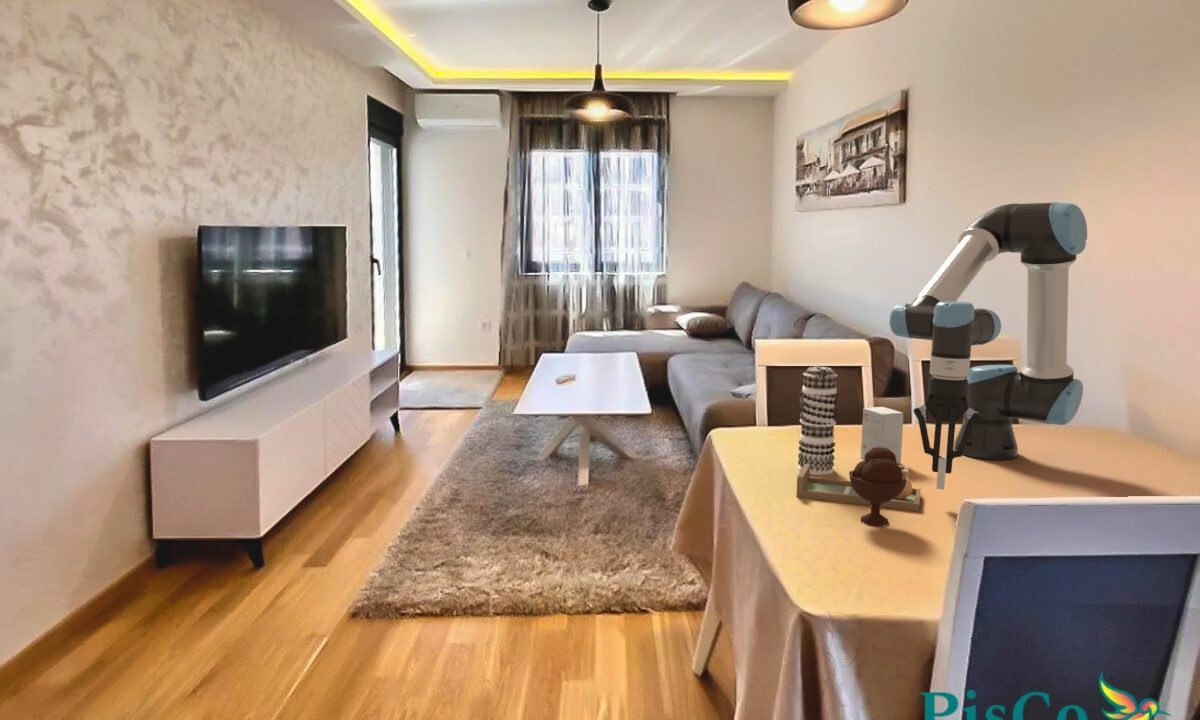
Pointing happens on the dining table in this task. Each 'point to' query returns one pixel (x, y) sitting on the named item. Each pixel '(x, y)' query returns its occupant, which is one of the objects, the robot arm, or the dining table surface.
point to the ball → (905, 490)
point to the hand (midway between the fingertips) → (940, 487)
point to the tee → (904, 470)
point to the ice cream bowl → (877, 482)
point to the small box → (882, 430)
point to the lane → (845, 492)
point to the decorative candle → (818, 420)
